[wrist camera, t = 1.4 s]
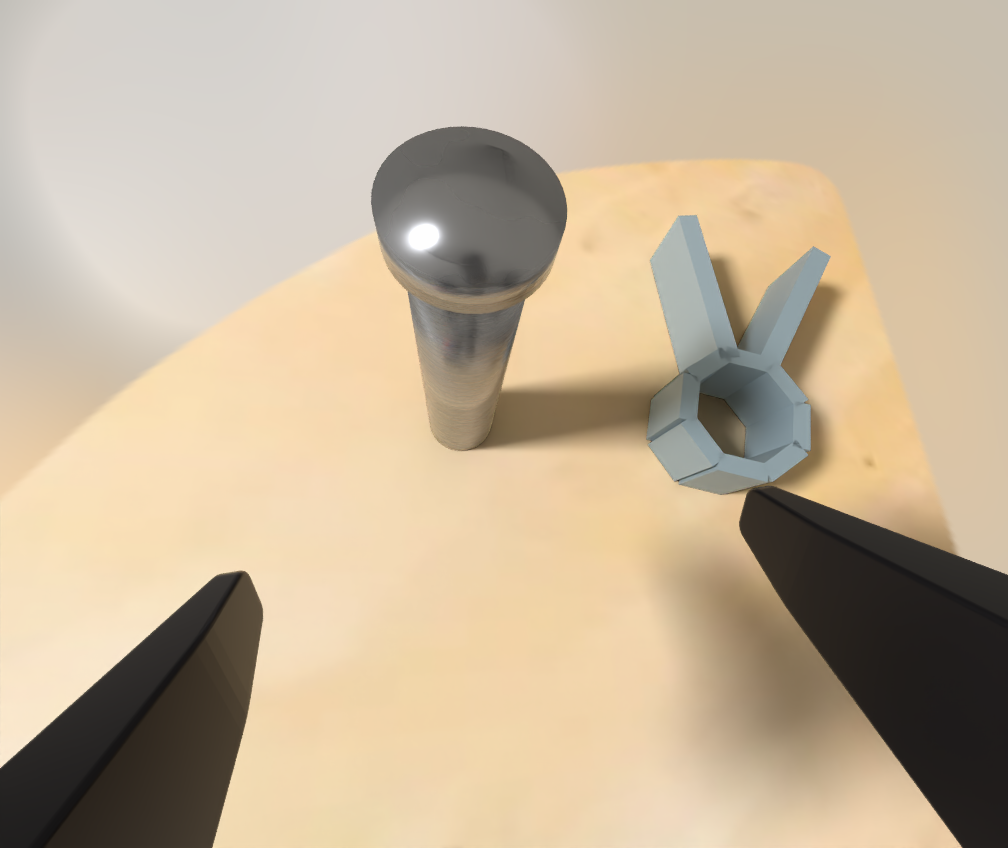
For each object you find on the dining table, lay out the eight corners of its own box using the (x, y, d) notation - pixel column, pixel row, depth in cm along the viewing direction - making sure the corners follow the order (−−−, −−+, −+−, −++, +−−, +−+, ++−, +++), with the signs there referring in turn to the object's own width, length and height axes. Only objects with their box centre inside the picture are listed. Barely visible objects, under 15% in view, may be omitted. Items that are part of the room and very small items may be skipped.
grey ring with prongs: (778, 508, 22) (835, 498, 19) (620, 470, 22) (650, 453, 19) (783, 290, 27) (830, 250, 23) (650, 255, 26) (679, 210, 23)
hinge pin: (511, 442, 22) (598, 254, 9) (437, 470, 21) (409, 309, 8) (482, 375, 23) (522, 111, 10) (410, 399, 22) (345, 147, 9)
